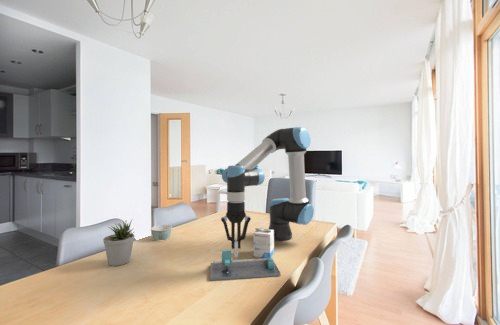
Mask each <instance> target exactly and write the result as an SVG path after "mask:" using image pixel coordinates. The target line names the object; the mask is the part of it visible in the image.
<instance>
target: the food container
mask: <svg viewBox="0 0 500 325" xmlns="http://www.w3.org/2000/svg"><path fill="white" fill-rule="evenodd" d="M172 228H173V226H172V225H169V224H160V225H154V226H152V227H151V228H150V231H151V234H152V238H153V239H154V240H153V241H155V240H164V241H167V239H168V240H170V238H171V233H172Z"/></svg>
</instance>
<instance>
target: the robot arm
mask: <svg viewBox="0 0 500 325" xmlns="http://www.w3.org/2000/svg"><path fill="white" fill-rule="evenodd" d="M310 144H311V136H310V133H309V131H308V129H306V128H305V127H302V126H296V127H287V128H280V129H277V130H275V131H273V132H272V133H269V135H267V136H266V137H265V138H263V139H262V141H261V143H260V144H259V145H258V146H256V147H255V148H254V149H252V150H251V152H248V154H247V155H246V156H244V157H243V158H242V159H240V161H238V162H237V163H236V164H234V165H228V166H227V168H225V169H224V170H222V172H221V179H222V180H223V182H224V183H226V189H227V190H226V199H227V200H226V201H227V202H226V213H225V215H224V216H222V217H220V220H221V222H222V223H223V227H224V231H225V234H226V238H227V241H231V244H230V245H231V250H233V255H234V256H233V257H234V258H238V257H239V250H240V249H241V241H244V240H245V239H246V234H247V230H248V226H249V223H250V221H251V220H252V218H251V216H249V215H247V214H246V212H245V210H246V208H245V206H246V204H245V199H246V198H245V192H246V190H245V188H246V187H253V186H261V185H262V184H263V183H264V182H265V180H266V179H265V177H266V176H265V173H264V171H263V170H262V169H260V168H256V167H257V166H258V165H259V164H260V163H261V162H263V161H264V159H266V158H268V157H269V155H270V154H273V153H275V152H276V151H279V150H284V153H285V154H286V155H287V156H288V157H287V159H288V174H289V176H288V178H289V193H290V194H289V195H290V197H289V198H288V197H285V198H284V197H282V198H273V199H271V200H270V202H269V226H268V228H267V229H270V230H274V241H280V242H281V241H288V240H291V239H292V238H293V232H292V229H291V226H290V223H293V224H296V225H303V226H306V225H309V224H310V223H311V221H312V219H313V217H314V211H315V210H314V206H313V205H312V204H311V203H310V200H309V198H308V197H307V193H306V192H307V191H306V174H305V154H306V153H307V149H308V148H310ZM243 220H244V224H243V228H242V231H241V224H242V222H243ZM227 221H229V223H230V226H231V227H230V229H231V230H230V231H231V233H229V228H228V223H227ZM235 224H236V225H235ZM235 226H237V228H236V229H235ZM235 230H237V233H236V234H237V235H236V237H237V238H236V239H235ZM241 232H242V233H241ZM230 234H231V235H230Z"/></svg>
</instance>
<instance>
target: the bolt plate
mask: <svg viewBox="0 0 500 325" xmlns="http://www.w3.org/2000/svg"><path fill="white" fill-rule="evenodd" d="M209 276H210V277H209V278H210V279H209V280H210V282H213V281H229V280H242V279H253V278H255V279H257V278H269V277H281V276H282V275H281V271H280V270H279V268H278V266H277V264H276V263H275V261H274V258H273V257H269V258H262V257H261V258H249V259H232V263H230V266H229V271H226V266H225V263H222V260H217V261H216V260H214V261H212V262H210V275H209Z"/></svg>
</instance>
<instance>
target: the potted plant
mask: <svg viewBox="0 0 500 325" xmlns="http://www.w3.org/2000/svg"><path fill="white" fill-rule="evenodd" d="M127 221H128V220H127V219H126V220H125V221H124V220H123V219H122V223H123V226H122V224H121V223H119V222H118V223H114V224H115V226H113V225H110V226H108V228H109V230H111V231H113V233H114V234H109V235H107V236H105V237H104V238H103V239H102V240H103V244H104V248H105V254H106V260H107V263H108V265H110V266H111V267H112V266H114V267H117V266H123V265H125V264H127V263H130V261H131V257H132V251H133V247H134V246H133V245H134V240H135V234H134V233H135V231H133V230H134V228H131V223H132V221H133V219H131V220H130V222H129V223H127ZM117 225H118V226H117ZM132 231H133V232H132Z"/></svg>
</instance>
